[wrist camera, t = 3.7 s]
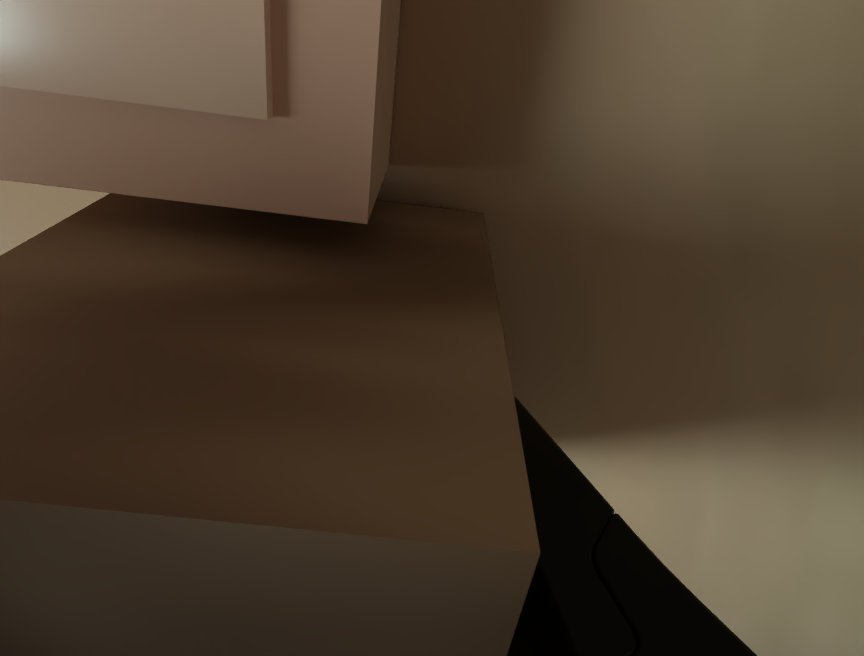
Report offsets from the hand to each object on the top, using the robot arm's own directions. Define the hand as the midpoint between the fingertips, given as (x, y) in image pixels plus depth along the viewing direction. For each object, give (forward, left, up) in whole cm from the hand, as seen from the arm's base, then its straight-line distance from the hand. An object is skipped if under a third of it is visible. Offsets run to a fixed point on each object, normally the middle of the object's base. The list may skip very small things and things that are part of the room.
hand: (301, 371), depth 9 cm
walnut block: (0, 0, -1) cm, 1 cm away
